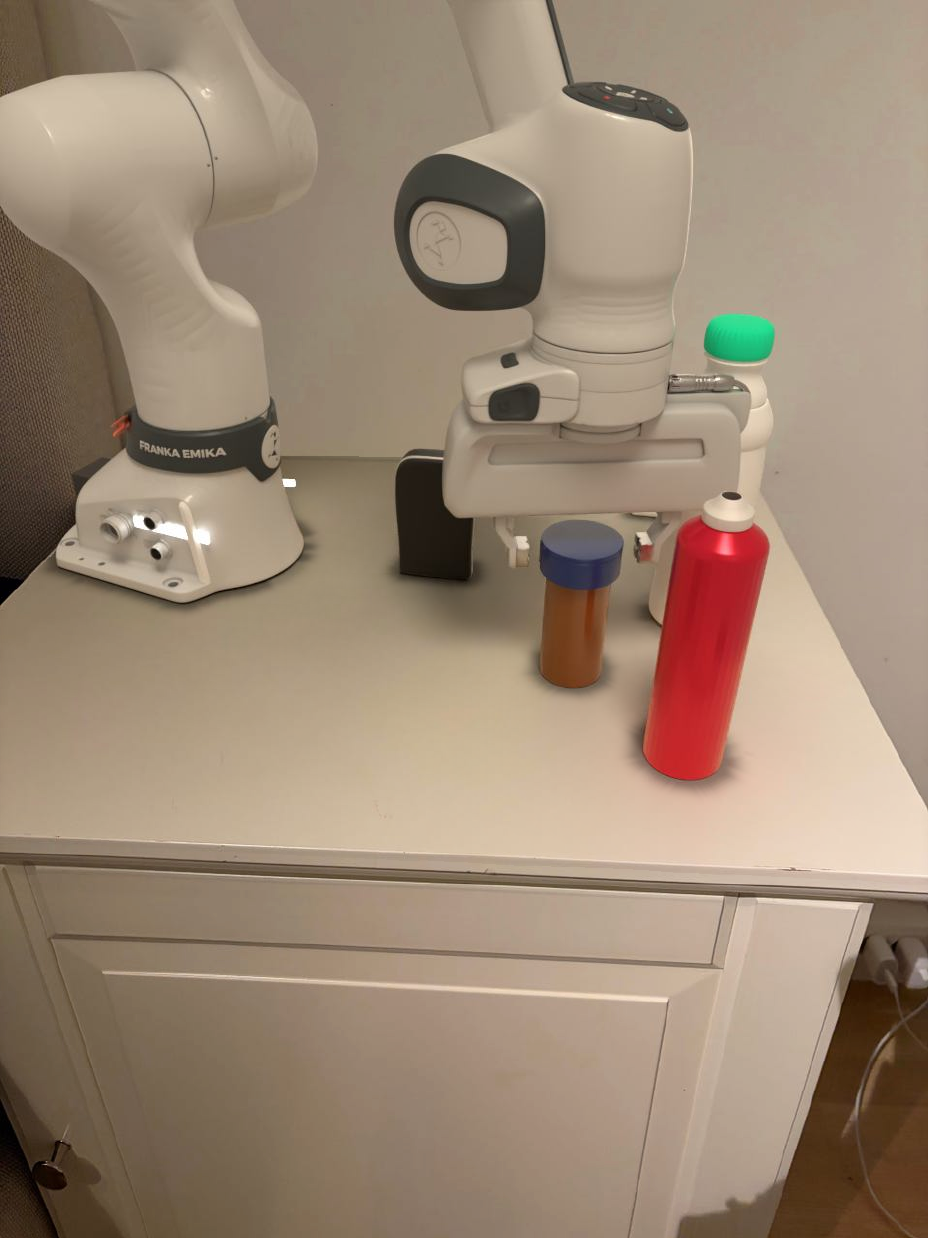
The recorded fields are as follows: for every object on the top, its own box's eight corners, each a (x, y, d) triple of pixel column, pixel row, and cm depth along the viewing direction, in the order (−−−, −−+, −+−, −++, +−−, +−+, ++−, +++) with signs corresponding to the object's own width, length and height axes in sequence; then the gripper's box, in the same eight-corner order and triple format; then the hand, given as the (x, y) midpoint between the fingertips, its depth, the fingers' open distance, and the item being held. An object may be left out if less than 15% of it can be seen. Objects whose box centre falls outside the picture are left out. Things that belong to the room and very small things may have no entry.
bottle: (737, 769, 64) (800, 509, 52) (668, 788, 62) (717, 524, 51) (694, 720, 68) (744, 469, 57) (628, 737, 66) (665, 482, 55)
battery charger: (478, 561, 86) (481, 446, 80) (472, 582, 83) (474, 465, 77) (405, 554, 87) (401, 440, 81) (396, 575, 84) (391, 458, 78)
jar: (534, 682, 71) (542, 557, 65) (545, 647, 75) (554, 525, 69) (596, 692, 70) (611, 566, 64) (604, 656, 74) (619, 533, 68)
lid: (531, 583, 66) (533, 553, 64) (545, 544, 70) (547, 515, 69) (615, 595, 65) (618, 564, 63) (623, 554, 69) (627, 524, 68)
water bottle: (733, 644, 76) (799, 339, 62) (645, 633, 77) (691, 331, 63) (730, 598, 81) (790, 309, 67) (649, 588, 83) (691, 302, 68)
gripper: (740, 356, 63) (708, 535, 71) (439, 362, 61) (440, 544, 69) (773, 390, 58) (735, 579, 66) (445, 397, 56) (446, 590, 64)
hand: (581, 561), depth 67 cm, fingers open, 8 cm apart
